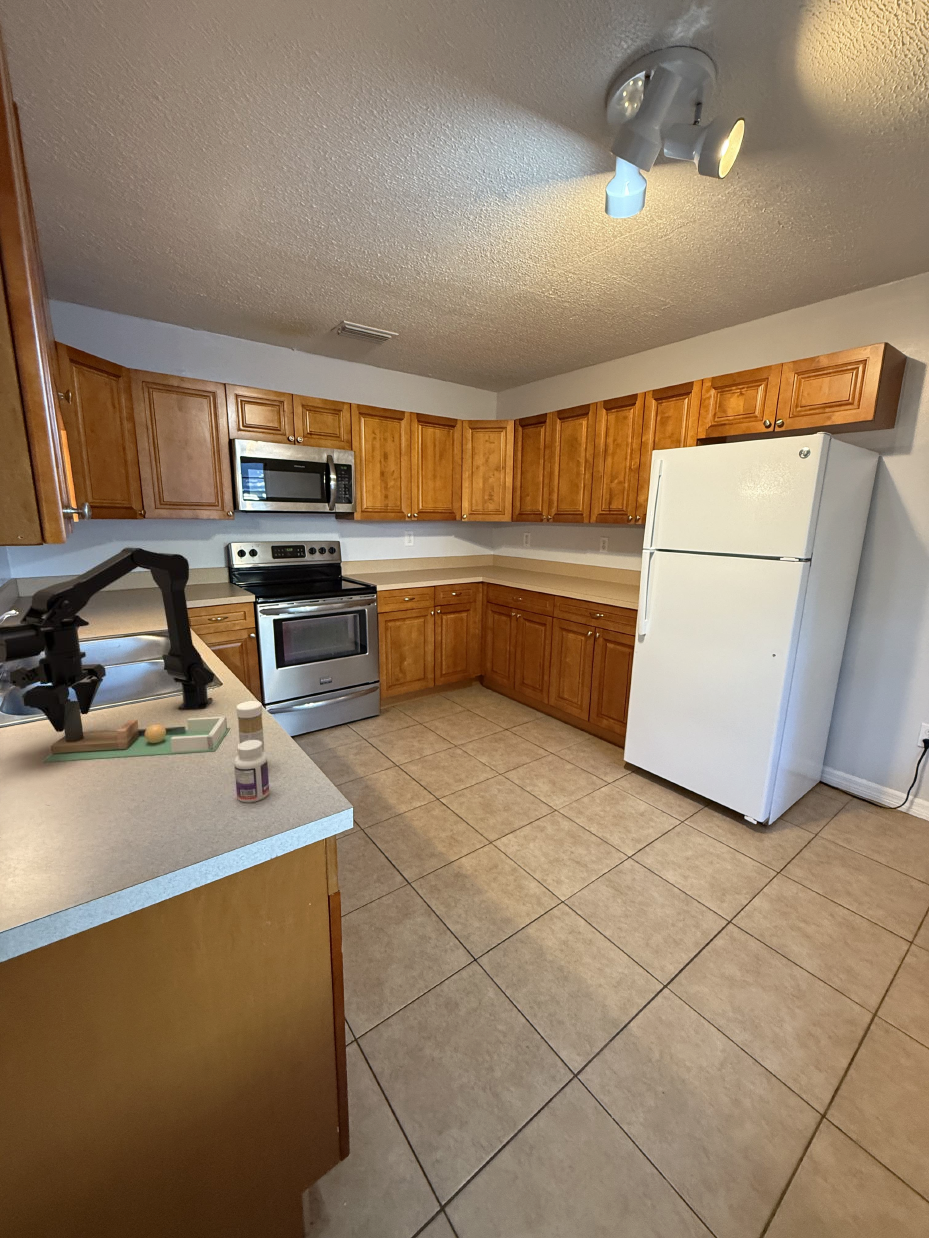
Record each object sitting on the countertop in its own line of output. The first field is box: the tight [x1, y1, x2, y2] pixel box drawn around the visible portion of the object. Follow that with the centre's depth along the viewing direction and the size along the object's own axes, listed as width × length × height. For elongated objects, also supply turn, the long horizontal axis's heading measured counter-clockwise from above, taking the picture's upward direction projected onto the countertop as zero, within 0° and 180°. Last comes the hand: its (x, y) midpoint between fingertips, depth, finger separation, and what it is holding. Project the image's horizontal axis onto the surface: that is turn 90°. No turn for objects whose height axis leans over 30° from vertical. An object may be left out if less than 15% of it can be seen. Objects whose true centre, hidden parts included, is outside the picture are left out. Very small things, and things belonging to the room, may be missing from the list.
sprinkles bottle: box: [236, 700, 265, 753], centre depth 97 cm, size 5×5×14 cm
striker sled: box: [49, 700, 140, 754], centre depth 105 cm, size 6×14×10 cm, turn 101°
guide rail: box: [83, 726, 187, 737], centre depth 111 cm, size 1×24×2 cm, turn 101°
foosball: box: [145, 724, 166, 743], centre depth 108 cm, size 4×4×4 cm
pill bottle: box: [233, 740, 270, 803], centre depth 88 cm, size 5×5×10 cm
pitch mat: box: [41, 727, 231, 763], centre depth 108 cm, size 12×32×1 cm, turn 101°
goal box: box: [171, 716, 228, 752], centre depth 110 cm, size 11×8×3 cm
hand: (72, 722), depth 105 cm, fingers open, 9 cm apart
